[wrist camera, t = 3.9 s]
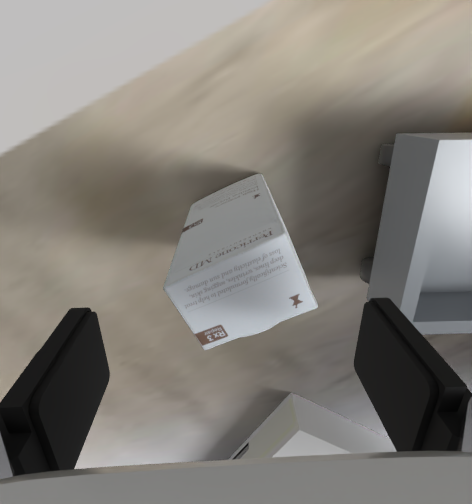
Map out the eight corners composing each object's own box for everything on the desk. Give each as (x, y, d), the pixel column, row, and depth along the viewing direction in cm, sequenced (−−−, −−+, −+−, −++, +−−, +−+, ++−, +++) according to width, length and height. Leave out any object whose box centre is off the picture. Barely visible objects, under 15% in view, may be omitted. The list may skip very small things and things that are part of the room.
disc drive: (346, 531, 45) (360, 579, 40) (205, 479, 39) (202, 528, 35) (442, 458, 39) (471, 505, 34) (291, 386, 33) (301, 430, 29)
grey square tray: (490, 276, 28) (575, 330, 21) (352, 279, 28) (394, 335, 21) (541, 128, 23) (673, 137, 16) (376, 130, 23) (439, 139, 16)
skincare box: (260, 169, 24) (289, 222, 13) (283, 221, 26) (326, 308, 15) (186, 205, 25) (155, 283, 14) (213, 253, 27) (204, 357, 15)
